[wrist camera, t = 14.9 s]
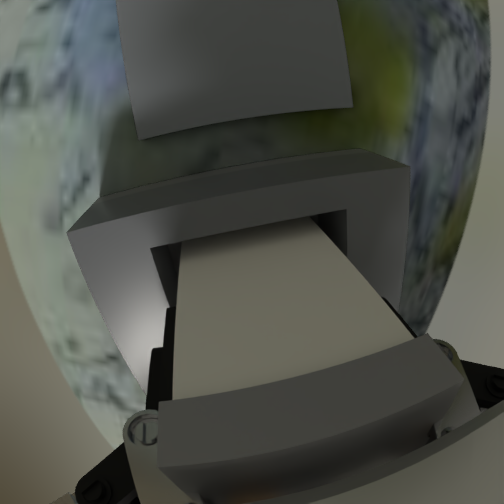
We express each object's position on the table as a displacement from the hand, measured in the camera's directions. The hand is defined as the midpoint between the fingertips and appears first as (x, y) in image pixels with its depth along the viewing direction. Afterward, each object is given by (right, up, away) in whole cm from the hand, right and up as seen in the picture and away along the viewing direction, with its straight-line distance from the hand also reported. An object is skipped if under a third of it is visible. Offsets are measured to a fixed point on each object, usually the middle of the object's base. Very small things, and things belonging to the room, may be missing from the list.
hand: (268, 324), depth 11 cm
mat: (-1, +11, 0) cm, 11 cm away
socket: (0, 0, +6) cm, 6 cm away
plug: (-1, +2, +4) cm, 4 cm away
